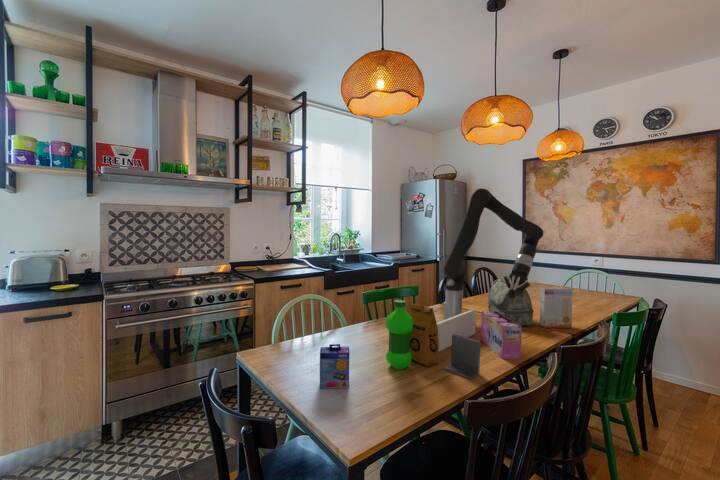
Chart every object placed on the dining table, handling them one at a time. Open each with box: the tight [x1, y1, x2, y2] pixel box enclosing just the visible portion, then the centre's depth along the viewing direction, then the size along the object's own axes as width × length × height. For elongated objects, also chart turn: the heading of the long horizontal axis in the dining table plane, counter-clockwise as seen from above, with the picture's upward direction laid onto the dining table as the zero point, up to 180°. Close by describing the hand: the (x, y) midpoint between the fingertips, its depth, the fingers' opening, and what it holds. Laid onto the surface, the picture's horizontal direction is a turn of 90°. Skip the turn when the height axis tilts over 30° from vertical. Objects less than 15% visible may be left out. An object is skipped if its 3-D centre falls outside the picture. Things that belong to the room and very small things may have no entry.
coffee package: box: [408, 302, 439, 367], centre depth 131 cm, size 10×12×22 cm
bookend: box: [443, 334, 481, 380], centre depth 121 cm, size 10×6×12 cm, turn 45°
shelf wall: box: [437, 308, 477, 353], centre depth 150 cm, size 2×40×12 cm, turn 135°
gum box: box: [480, 310, 523, 360], centre depth 145 cm, size 24×8×14 cm, turn 2°
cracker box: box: [539, 286, 574, 329], centre depth 176 cm, size 14×6×21 cm, turn 84°
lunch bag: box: [487, 278, 534, 327], centre depth 188 cm, size 26×18×22 cm
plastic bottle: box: [385, 299, 413, 370], centre depth 125 cm, size 10×10×25 cm
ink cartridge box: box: [319, 343, 350, 390], centre depth 111 cm, size 10×6×14 cm, turn 95°
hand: (510, 297), depth 161 cm, fingers closed
